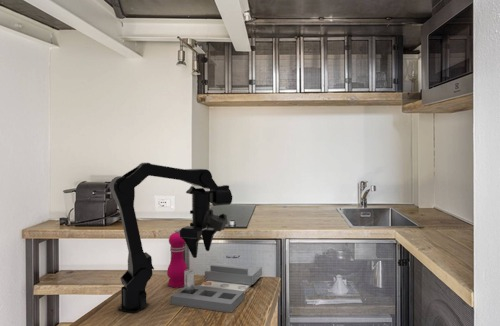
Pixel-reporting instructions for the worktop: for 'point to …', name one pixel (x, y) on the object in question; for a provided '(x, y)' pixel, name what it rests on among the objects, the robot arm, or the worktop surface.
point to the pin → (189, 281)
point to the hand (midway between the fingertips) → (201, 254)
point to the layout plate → (226, 285)
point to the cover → (233, 273)
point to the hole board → (209, 298)
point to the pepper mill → (176, 261)
